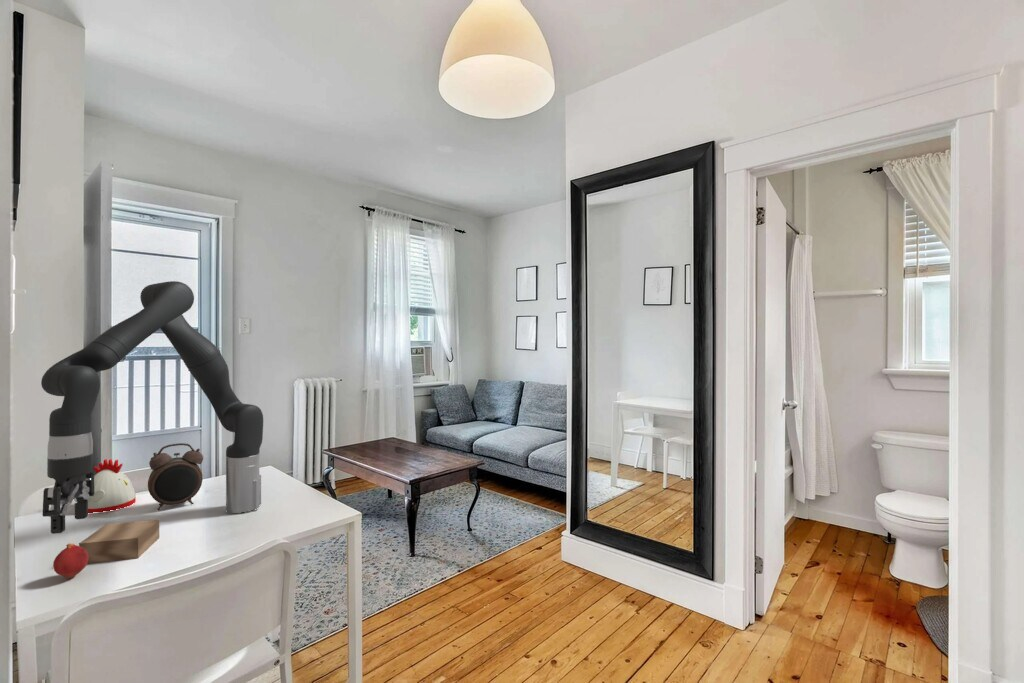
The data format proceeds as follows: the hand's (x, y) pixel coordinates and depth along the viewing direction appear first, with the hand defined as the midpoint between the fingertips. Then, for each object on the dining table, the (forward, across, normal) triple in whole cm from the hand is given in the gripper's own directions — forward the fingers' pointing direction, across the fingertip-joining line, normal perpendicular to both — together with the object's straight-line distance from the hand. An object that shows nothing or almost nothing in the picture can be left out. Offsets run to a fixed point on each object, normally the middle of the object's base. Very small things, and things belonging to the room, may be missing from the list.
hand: (70, 525), depth 107 cm
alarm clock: (+12, +45, -5) cm, 47 cm away
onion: (+12, 0, 0) cm, 12 cm away
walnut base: (+12, +13, -4) cm, 18 cm away
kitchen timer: (+12, +51, +16) cm, 55 cm away
